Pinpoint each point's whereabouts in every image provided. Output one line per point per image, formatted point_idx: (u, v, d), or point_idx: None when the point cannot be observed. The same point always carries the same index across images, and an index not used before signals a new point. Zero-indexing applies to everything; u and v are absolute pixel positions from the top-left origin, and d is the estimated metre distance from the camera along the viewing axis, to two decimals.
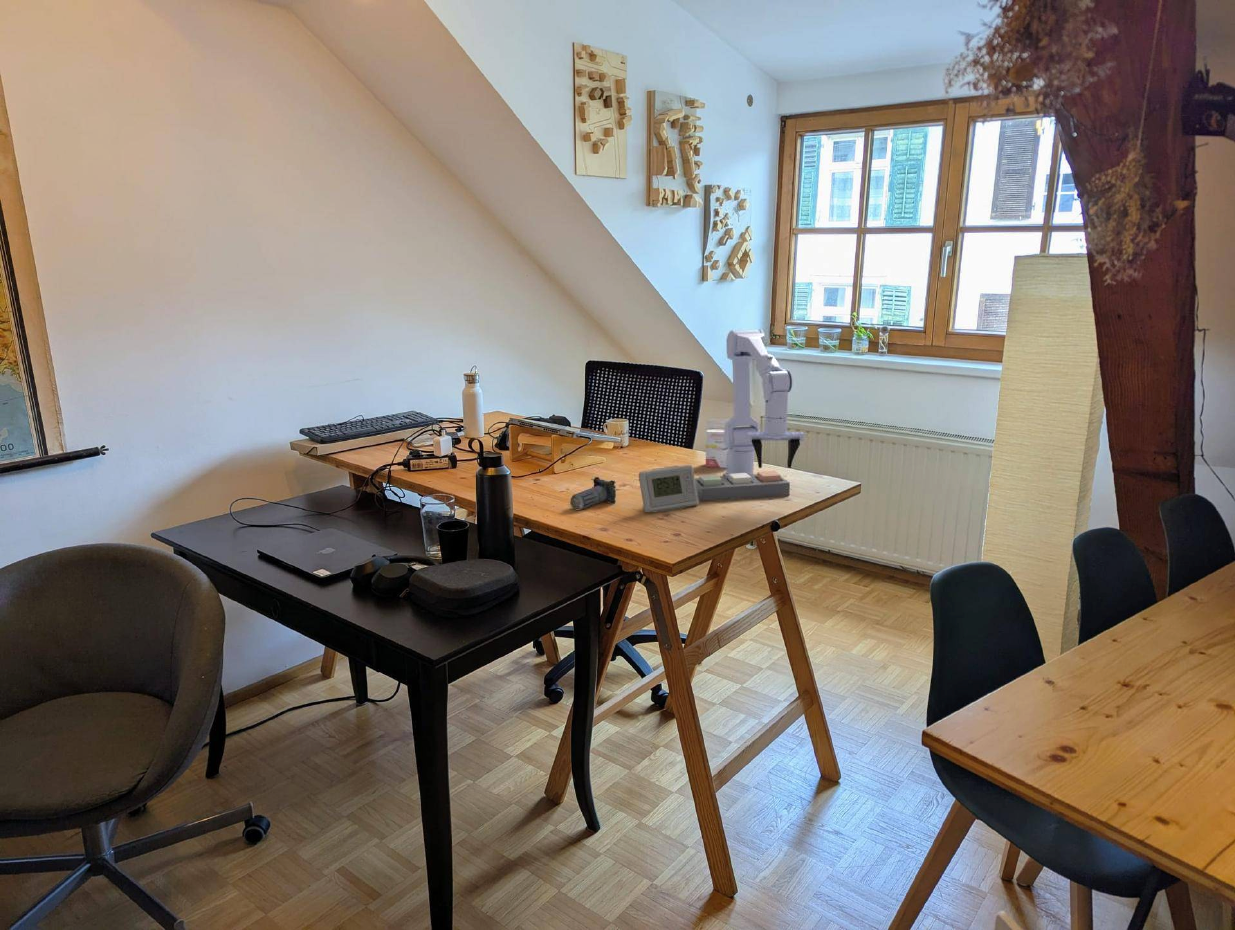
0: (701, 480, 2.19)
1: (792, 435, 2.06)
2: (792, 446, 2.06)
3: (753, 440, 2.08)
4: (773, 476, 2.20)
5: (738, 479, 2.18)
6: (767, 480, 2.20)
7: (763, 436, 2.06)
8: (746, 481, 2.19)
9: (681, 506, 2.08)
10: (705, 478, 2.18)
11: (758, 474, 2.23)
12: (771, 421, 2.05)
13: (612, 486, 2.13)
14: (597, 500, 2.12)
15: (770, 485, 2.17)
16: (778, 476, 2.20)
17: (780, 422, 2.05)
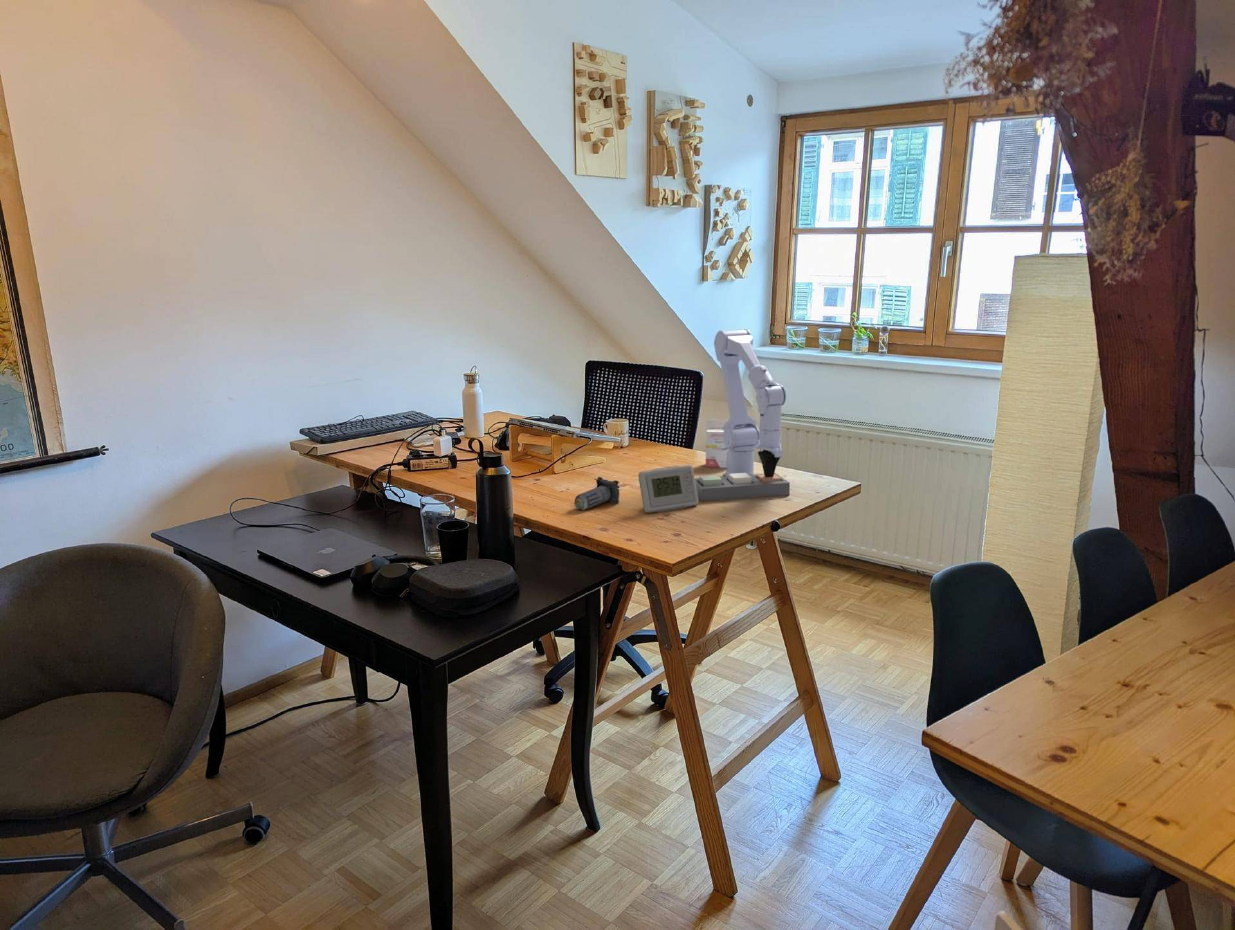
0: (701, 480, 2.19)
1: (769, 449, 2.16)
2: (761, 456, 2.20)
3: None
4: (773, 479, 2.20)
5: (738, 479, 2.18)
6: None
7: None
8: (746, 481, 2.19)
9: (681, 506, 2.08)
10: (705, 478, 2.18)
11: (758, 477, 2.23)
12: None
13: (616, 486, 2.13)
14: (601, 500, 2.11)
15: (770, 485, 2.17)
16: (778, 479, 2.20)
17: (761, 433, 2.18)
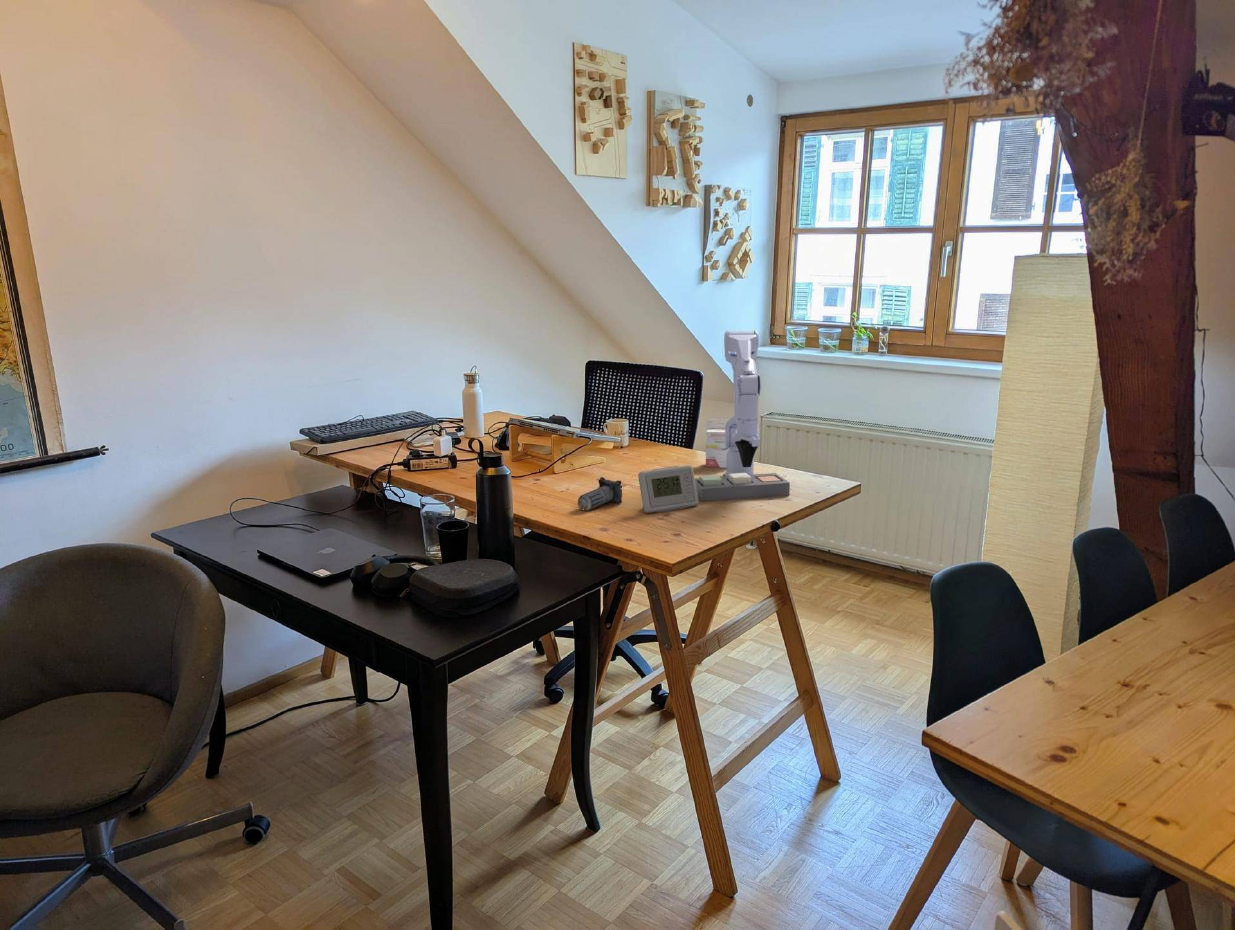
0: (701, 480, 2.19)
1: (746, 438, 2.14)
2: (739, 446, 2.18)
3: None
4: (773, 481, 2.20)
5: (738, 479, 2.18)
6: None
7: (736, 433, 2.21)
8: (746, 481, 2.19)
9: (681, 506, 2.08)
10: (705, 478, 2.18)
11: (758, 479, 2.24)
12: None
13: (618, 486, 2.13)
14: (604, 500, 2.11)
15: (770, 485, 2.17)
16: None
17: (739, 423, 2.16)
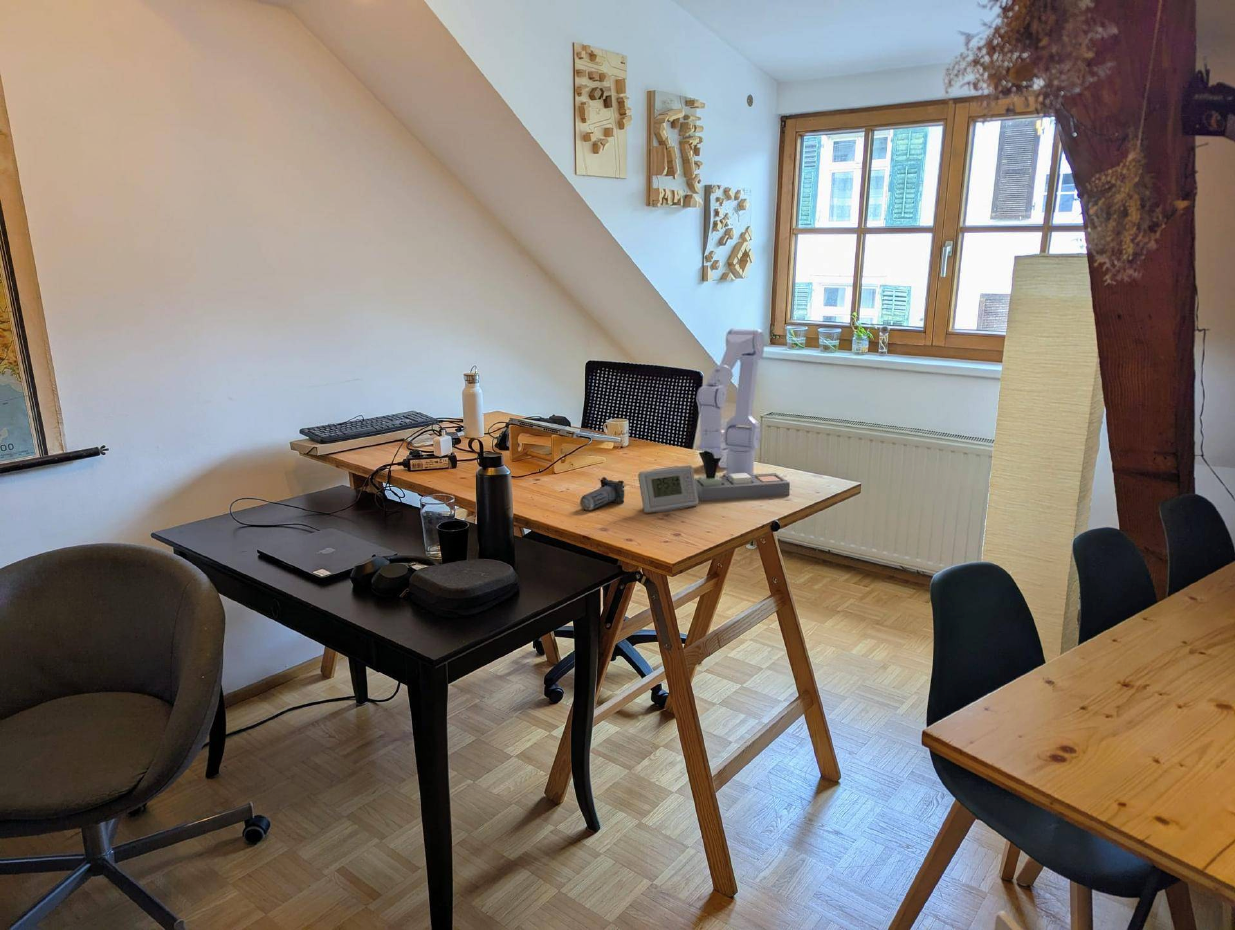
0: (701, 480, 2.19)
1: (708, 449, 2.13)
2: (702, 457, 2.17)
3: None
4: (773, 481, 2.20)
5: (738, 479, 2.18)
6: None
7: None
8: (746, 481, 2.19)
9: (681, 506, 2.08)
10: (705, 478, 2.18)
11: (758, 479, 2.24)
12: None
13: (621, 486, 2.13)
14: (606, 500, 2.11)
15: (770, 485, 2.17)
16: None
17: (702, 434, 2.15)
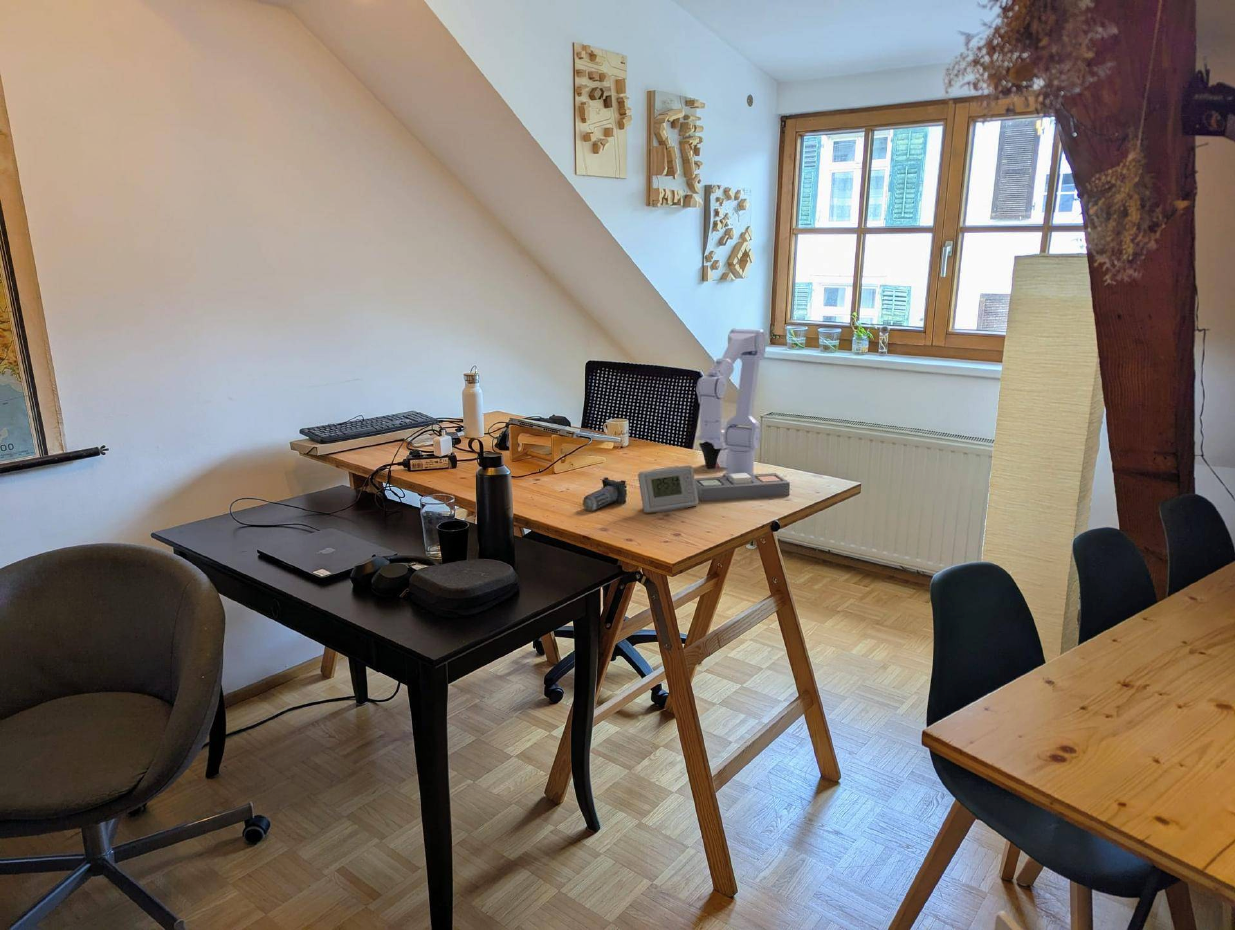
0: (701, 485, 2.19)
1: (709, 440, 2.12)
2: (702, 448, 2.16)
3: None
4: (773, 481, 2.20)
5: (738, 479, 2.18)
6: None
7: None
8: (746, 481, 2.19)
9: (681, 507, 2.08)
10: (705, 483, 2.19)
11: (758, 479, 2.24)
12: None
13: (623, 486, 2.13)
14: (609, 500, 2.11)
15: (770, 485, 2.17)
16: None
17: (702, 424, 2.14)
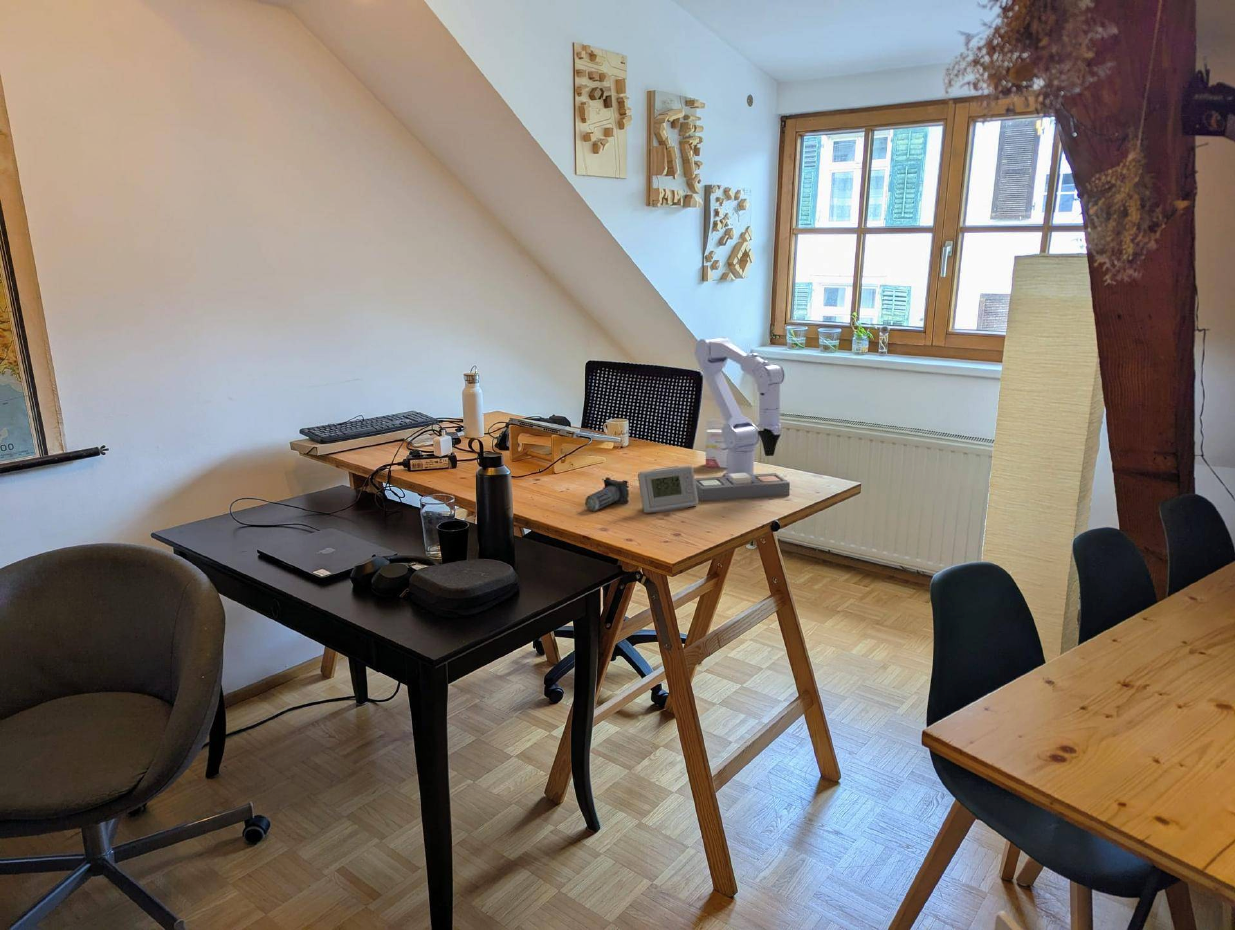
0: (701, 485, 2.19)
1: (768, 427, 2.19)
2: (761, 435, 2.23)
3: None
4: (773, 481, 2.20)
5: (738, 479, 2.18)
6: None
7: None
8: (746, 481, 2.19)
9: (680, 507, 2.08)
10: (705, 483, 2.19)
11: (758, 479, 2.24)
12: None
13: (625, 486, 2.13)
14: (611, 500, 2.11)
15: (770, 485, 2.17)
16: None
17: (761, 412, 2.21)
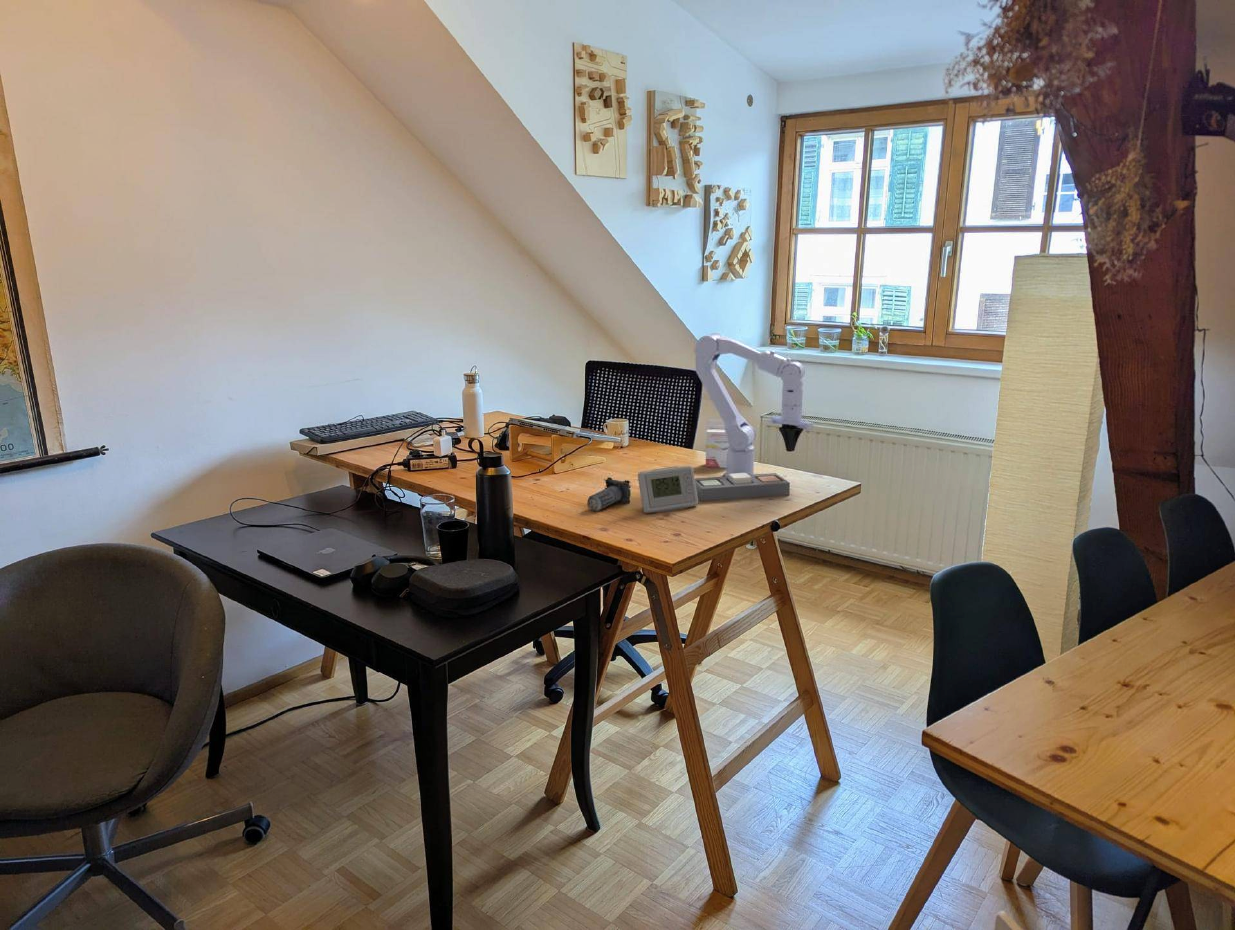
0: (701, 485, 2.19)
1: (798, 423, 2.23)
2: (786, 431, 2.26)
3: None
4: (773, 481, 2.20)
5: (738, 479, 2.18)
6: None
7: (777, 420, 2.28)
8: (746, 481, 2.19)
9: (680, 507, 2.07)
10: (705, 483, 2.19)
11: (758, 479, 2.24)
12: (782, 407, 2.26)
13: (627, 486, 2.13)
14: (613, 500, 2.11)
15: (770, 485, 2.17)
16: None
17: (787, 409, 2.24)
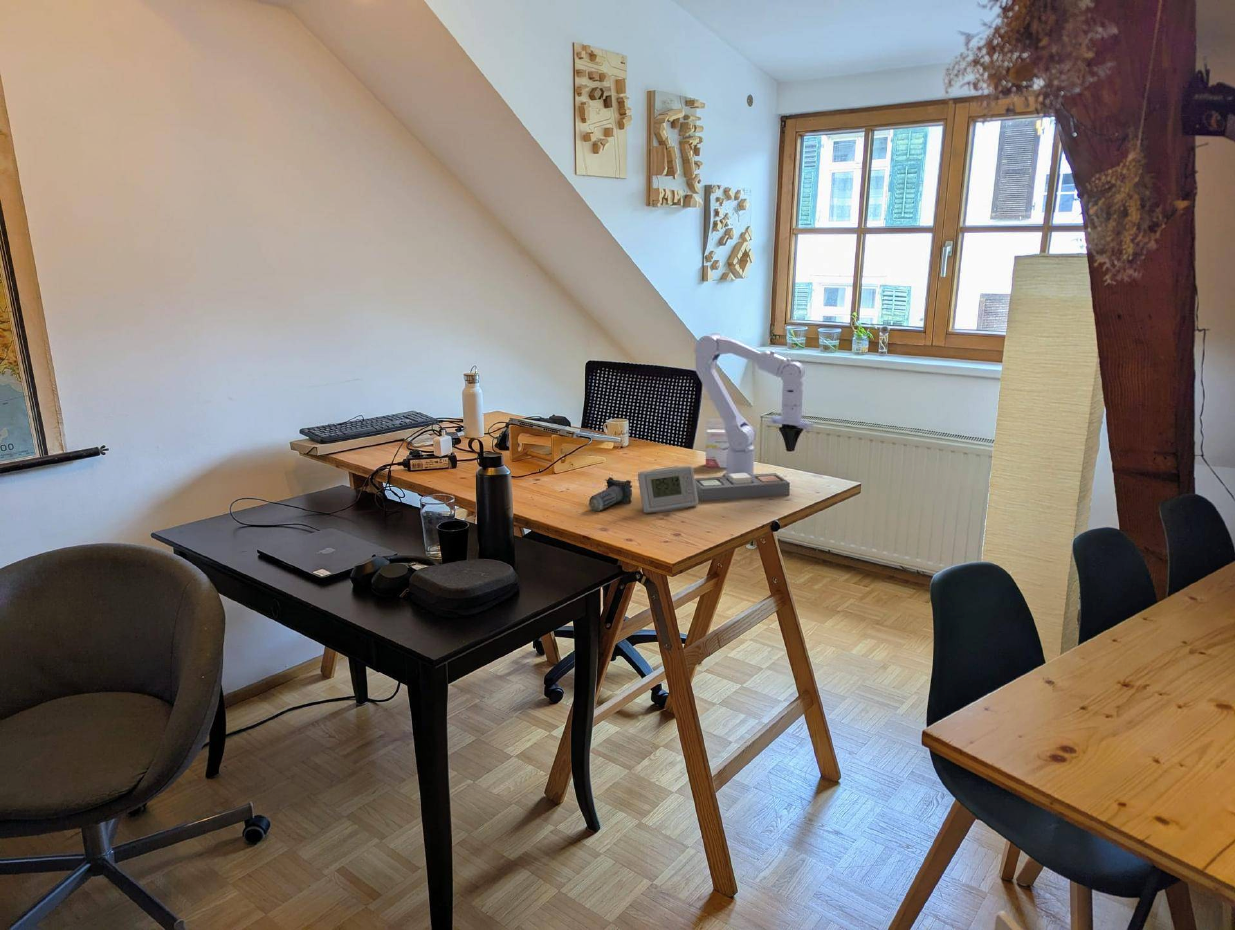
0: (701, 485, 2.19)
1: (798, 423, 2.23)
2: (786, 431, 2.26)
3: None
4: (773, 481, 2.20)
5: (738, 479, 2.18)
6: None
7: (777, 420, 2.28)
8: (746, 481, 2.19)
9: (680, 507, 2.07)
10: (705, 483, 2.19)
11: (758, 479, 2.24)
12: (782, 407, 2.26)
13: (628, 486, 2.13)
14: (614, 500, 2.11)
15: (770, 485, 2.17)
16: None
17: (787, 409, 2.24)
